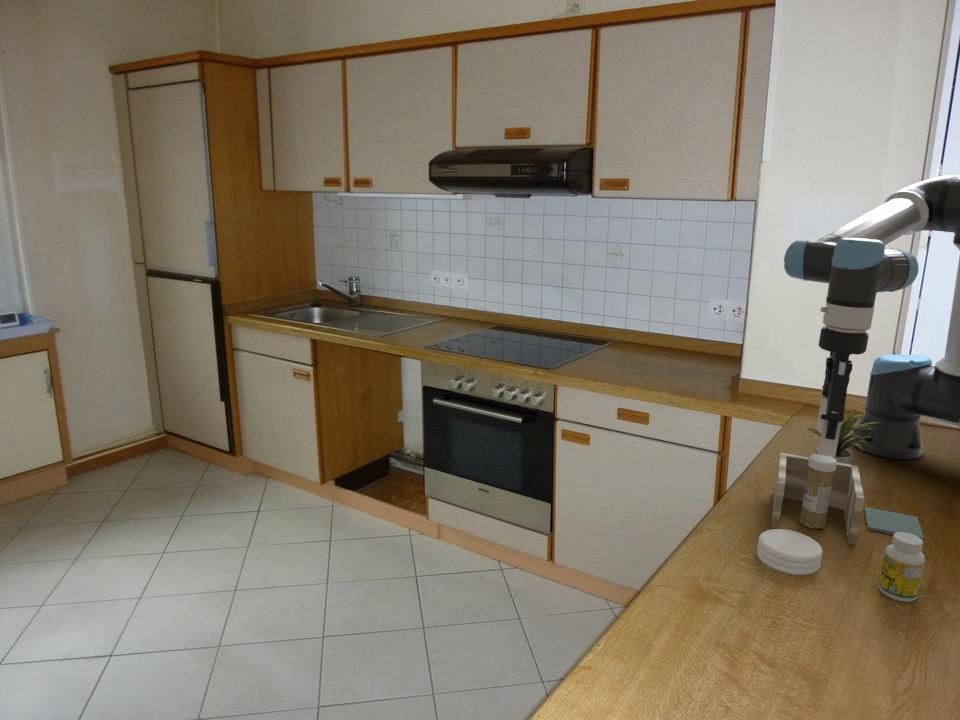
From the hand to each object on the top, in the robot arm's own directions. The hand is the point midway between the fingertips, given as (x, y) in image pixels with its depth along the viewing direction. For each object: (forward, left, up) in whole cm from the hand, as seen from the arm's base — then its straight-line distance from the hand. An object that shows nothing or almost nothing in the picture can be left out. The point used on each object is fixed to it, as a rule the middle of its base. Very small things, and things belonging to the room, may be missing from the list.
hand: (825, 442), depth 128 cm
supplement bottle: (+19, +12, -17) cm, 28 cm away
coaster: (+16, -4, -17) cm, 23 cm away
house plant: (-24, +4, -17) cm, 30 cm away
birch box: (-3, 0, -16) cm, 17 cm away
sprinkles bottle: (0, 0, -17) cm, 17 cm away
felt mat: (-7, +14, -16) cm, 23 cm away
